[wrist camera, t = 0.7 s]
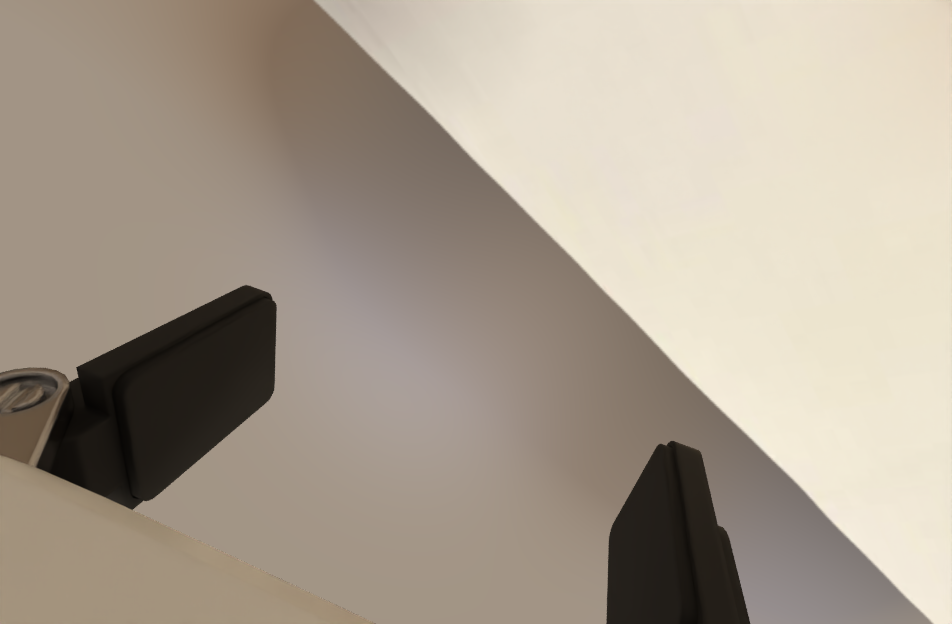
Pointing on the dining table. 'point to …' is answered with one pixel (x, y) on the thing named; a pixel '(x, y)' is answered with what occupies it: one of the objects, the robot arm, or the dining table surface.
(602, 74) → the dining table surface
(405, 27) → the dining table surface
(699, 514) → the robot arm
